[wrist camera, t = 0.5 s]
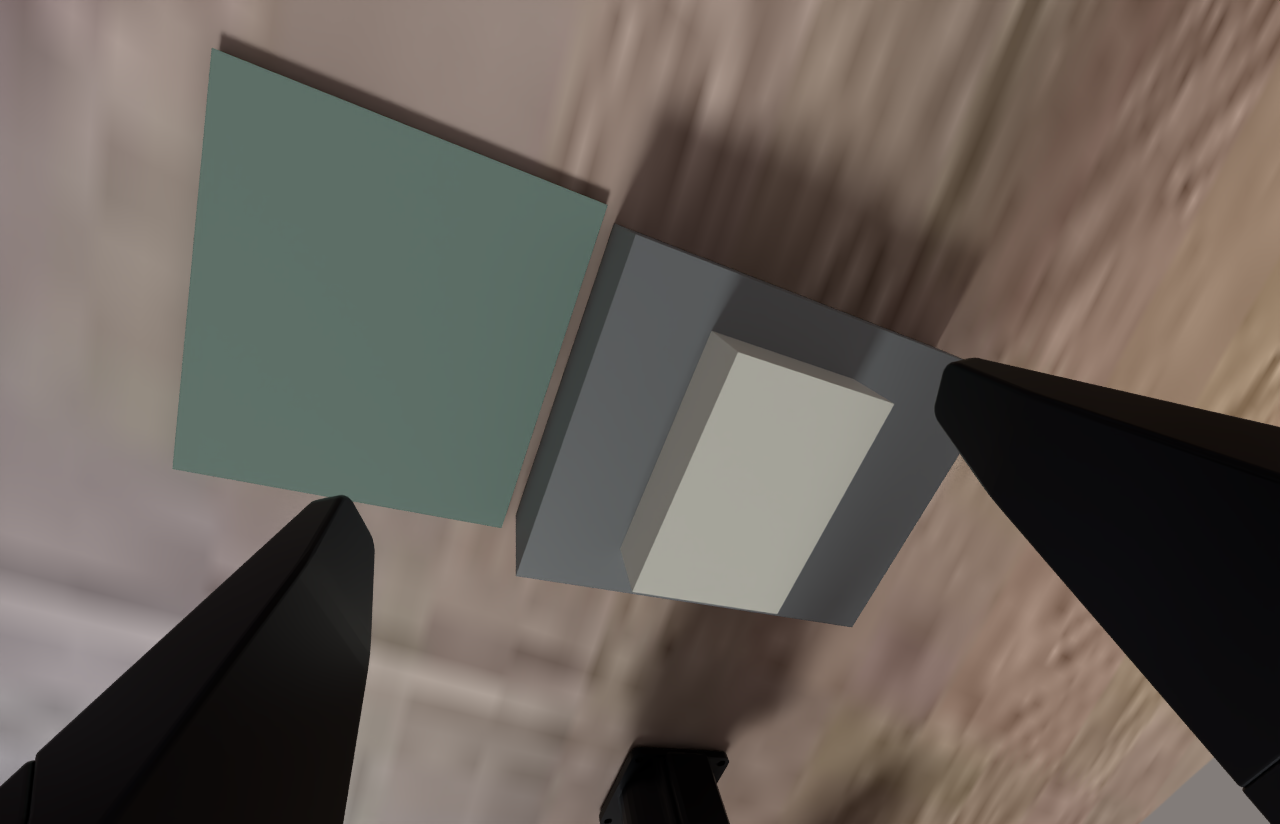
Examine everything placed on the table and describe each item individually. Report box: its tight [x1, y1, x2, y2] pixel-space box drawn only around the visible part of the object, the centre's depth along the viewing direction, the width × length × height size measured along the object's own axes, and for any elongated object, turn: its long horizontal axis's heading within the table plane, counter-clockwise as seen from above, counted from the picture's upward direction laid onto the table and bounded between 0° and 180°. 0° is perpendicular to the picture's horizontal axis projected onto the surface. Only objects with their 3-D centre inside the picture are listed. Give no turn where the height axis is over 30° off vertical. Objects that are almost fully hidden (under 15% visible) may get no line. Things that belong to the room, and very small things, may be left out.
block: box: [620, 331, 894, 614], centre depth 19 cm, size 9×6×2 cm, turn 159°
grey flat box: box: [516, 223, 964, 627], centre depth 23 cm, size 13×16×4 cm
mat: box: [173, 48, 607, 528], centre depth 20 cm, size 14×12×1 cm
